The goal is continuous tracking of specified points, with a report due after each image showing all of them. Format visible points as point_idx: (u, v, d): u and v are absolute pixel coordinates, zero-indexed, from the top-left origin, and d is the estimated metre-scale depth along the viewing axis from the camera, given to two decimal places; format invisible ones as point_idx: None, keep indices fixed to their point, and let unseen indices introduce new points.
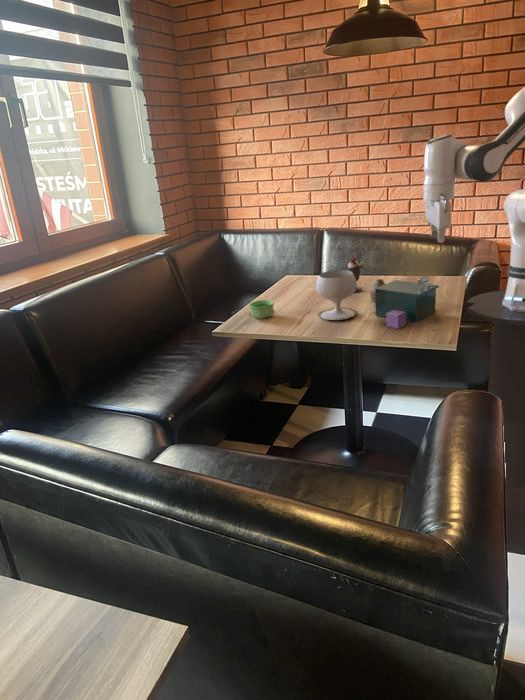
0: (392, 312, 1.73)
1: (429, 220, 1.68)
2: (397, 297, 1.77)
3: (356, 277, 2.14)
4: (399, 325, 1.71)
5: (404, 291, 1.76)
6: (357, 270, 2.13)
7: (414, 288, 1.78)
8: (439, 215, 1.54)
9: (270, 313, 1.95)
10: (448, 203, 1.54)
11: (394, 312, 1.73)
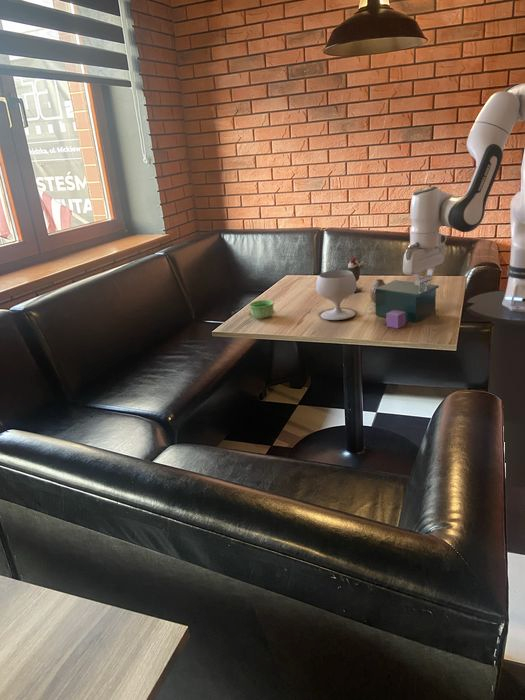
0: (392, 312, 1.73)
1: None
2: (397, 297, 1.77)
3: (356, 277, 2.14)
4: (399, 325, 1.71)
5: (404, 291, 1.76)
6: (357, 270, 2.13)
7: (414, 288, 1.78)
8: (403, 262, 1.67)
9: (270, 313, 1.95)
10: (412, 252, 1.65)
11: (394, 312, 1.73)
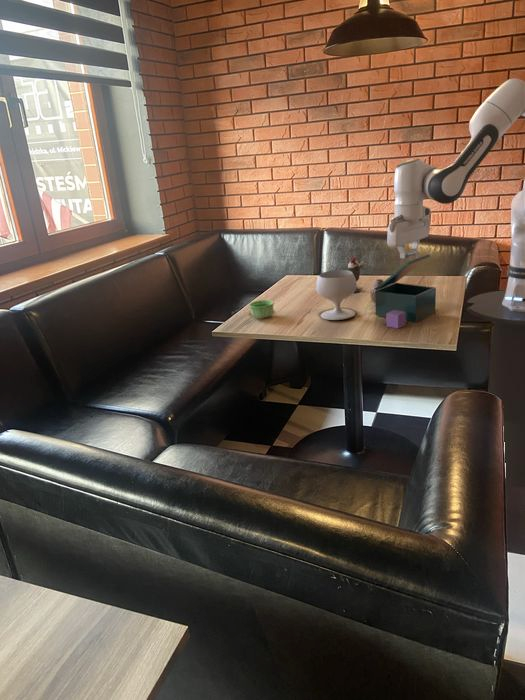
0: (392, 312, 1.73)
1: None
2: (397, 297, 1.77)
3: (356, 277, 2.14)
4: (399, 325, 1.71)
5: None
6: (357, 270, 2.13)
7: None
8: (387, 234, 1.68)
9: (270, 313, 1.95)
10: (396, 224, 1.66)
11: (394, 312, 1.73)
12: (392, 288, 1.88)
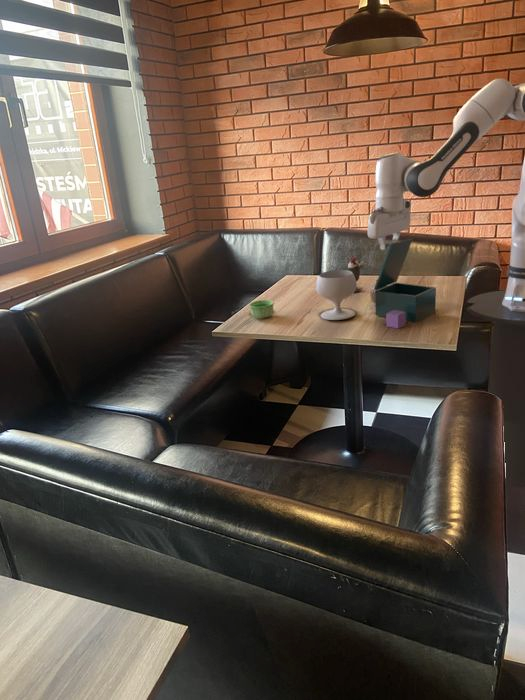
0: (392, 312, 1.73)
1: None
2: (397, 297, 1.77)
3: (356, 277, 2.14)
4: (399, 325, 1.71)
5: None
6: (357, 270, 2.13)
7: None
8: (368, 225, 1.72)
9: (270, 313, 1.95)
10: (376, 216, 1.70)
11: (394, 312, 1.73)
12: (392, 288, 1.88)
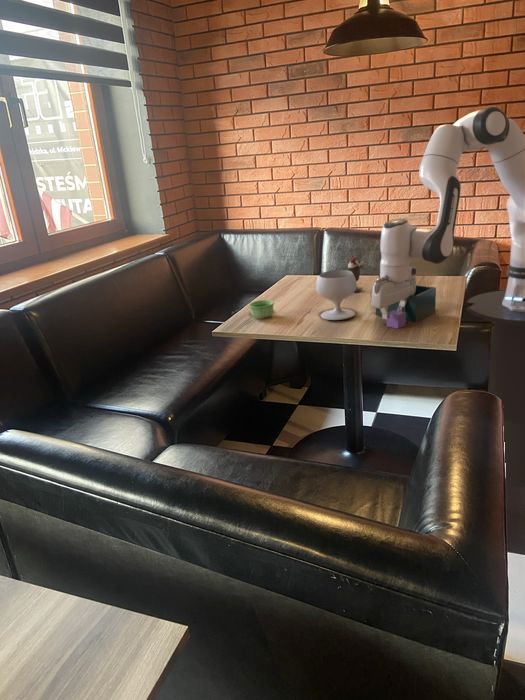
0: (392, 312, 1.73)
1: None
2: None
3: (356, 277, 2.14)
4: (399, 325, 1.71)
5: None
6: (357, 270, 2.13)
7: None
8: (372, 295, 1.64)
9: (270, 313, 1.95)
10: (381, 285, 1.62)
11: (394, 312, 1.73)
12: None
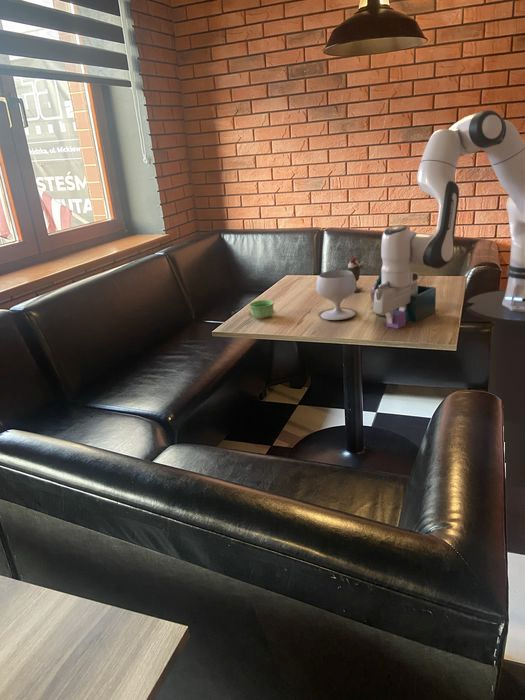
0: None
1: None
2: None
3: (356, 277, 2.14)
4: (399, 325, 1.71)
5: None
6: (357, 270, 2.13)
7: None
8: (374, 301, 1.65)
9: (270, 313, 1.95)
10: (383, 292, 1.63)
11: (394, 312, 1.73)
12: None
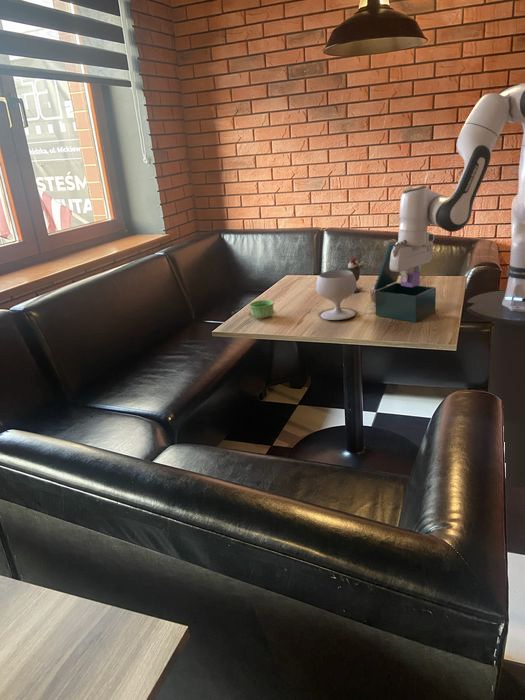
0: (407, 272, 1.78)
1: None
2: (397, 297, 1.77)
3: (356, 277, 2.14)
4: (413, 284, 1.76)
5: None
6: (357, 270, 2.13)
7: None
8: (390, 258, 1.70)
9: (270, 313, 1.95)
10: (399, 249, 1.68)
11: (409, 272, 1.77)
12: (392, 288, 1.88)
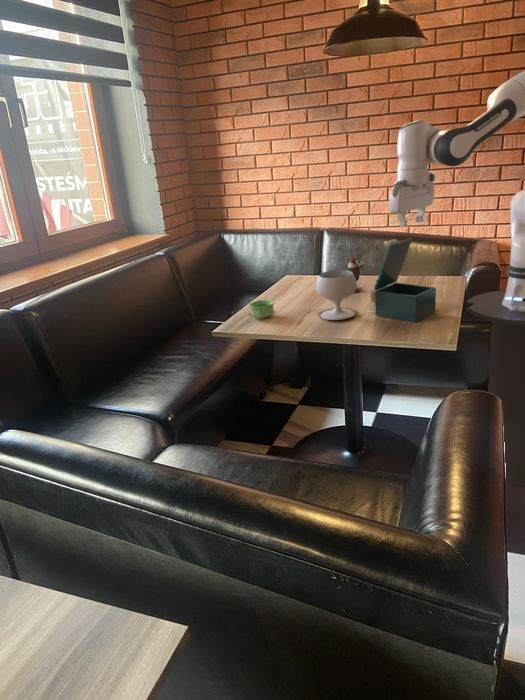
0: None
1: None
2: (397, 297, 1.77)
3: (356, 277, 2.14)
4: None
5: None
6: (357, 270, 2.13)
7: None
8: (390, 199, 1.60)
9: (270, 313, 1.95)
10: (399, 188, 1.58)
11: None
12: (392, 288, 1.88)
